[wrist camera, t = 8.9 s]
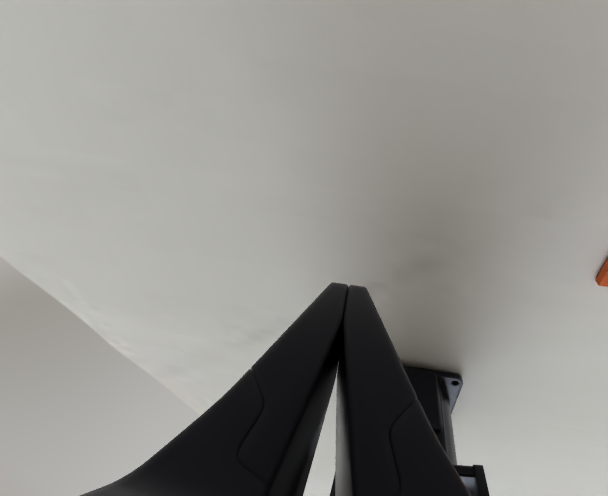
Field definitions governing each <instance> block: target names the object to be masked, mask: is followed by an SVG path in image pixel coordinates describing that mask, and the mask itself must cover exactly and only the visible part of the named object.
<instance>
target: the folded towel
mask: <svg viewBox="0 0 608 496" xmlns="http://www.w3.org/2000/svg"><path fill="white" fill-rule="evenodd" d="M596 282H597V284H598V285H599V286H608V258H607V260H606V262H605V264H604V265H603V267H602V269H601V271H600V272H599V274H598V276H597V278H596Z"/></svg>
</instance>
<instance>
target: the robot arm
mask: <svg viewBox="0 0 608 496" xmlns="http://www.w3.org/2000/svg"><path fill="white" fill-rule="evenodd" d="M338 362H339V363H338ZM337 368H338V372H337ZM336 374H337V408H336V472H335V476H334V480H333V485H332V489H331V493H330V496H489V491H488V487H487V482H486V478H485V474H484V469H483V465H473V466H462V465H457V460H456V452H455V444H454V436H453V428H452V420H451V413H452V411H453V408H454V406H455V403H456V400H457V398H458V395H459V393H460V390H461V387H462V385H463V381H462V377H461V376H460V375H458V374H454V373H447V372H441V371H434V370H427V369H421V368H414V367H408V366H403V365H402V363H401V361H400V359H399V357H398V355H397V353H396V350H395V348H394V346H393V344H392V342H391V340H390V338H389V335H388V333H387V331H386V329H385V327H384V325H383V322H382V320H381V318H380V316H379V314H378V312H377V310H376V307H375V305H374V303H373V301H372V299H371V297H370V295H369V292H368V290H367V289H366V288H365V287H362V286H355V285H350V286H349V288H348V285H346V284H341V283H331V284H330V285H329V286H328V287H327V288H326V289H325V290H324V291H323V292H322V293H321V294H320V295H319V296H318V297H317V298H316V299H315V301H314V302H313V303H312V304H311V305H310V306H309V307H308V308H307V309H306V310H305V311H304V312H303V313H302V314H301V315H300V316H299V317H298V319H297V320H296V321H295V322H294V323H293V324H292V325H291V326H290V327H289V328H288V329H287V330H286V331H285V332H284V333H283V334H282V335H281V337H280V338H279V339H278V340H277V341H276V342H275V343H274V344H273V345H272V346H271V347H270V348H269V349H268V350H267V351H266V352H265V353H264V355H263V356H262V357H261V358H260V359H259V360H258V361H257V362H256V363H255V364H254V365H253V366H252V368H251V369H249V370H248V371H247V372H246V373H245V374H244V375H243V377H242V378H241V379H240V380H239V381H238V382H237V383H236V384H235V385H234V386H233V387H232V388H231V389H230V390H229V391H228V392H227V393H226V394H225V395H224V396H223V397H222V398H221V399H219V400H218V401H217V402H216V403H215V404H214V405H213V406H212V407H210V408H209V409H208V410H207V411H206V412H205V413H204V414H202V415H201V416H200V417H199V418H198V419H197V420H196V421H194V422H193V423H192V424H191V425H189V426H188V427H187V428H186V429H185V430H184V431H182V432H181V433H180V434H179V435H178V436H176V437H175V438H174V439H173V440H172V441H170V442H169V443H168V444H167V445H166V446H164V447H163V448H162V449H161V450H160V451H158V452H157V453H156V454H155V455H154V456H153V457H151V458H150V459H149V460H148V461H146V462H145V463H144V464H143V465H141V466H140V467H138V468H137V469H136V470H134V471H133V472H131V473H129V474H128V475H126V476H124V477H123V478H121V479H119V480H117V481H115V482H113V483H111V484H109V485H106V486H104V487H102V488H99V489H96V490H93V491H91V492H88V493H86V494H83V495H81V496H303V493H304V489H305V486H306V482H307V479H308V475H309V471H310V468H311V464H312V461H313V457H314V454H315V450H316V447H317V443H318V439H319V436H320V432H321V429H322V425H323V422H324V418H325V414H326V411H327V407H328V404H329V400H330V397H331V393H332V389H333V386H334V382H335V378H336Z"/></svg>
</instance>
